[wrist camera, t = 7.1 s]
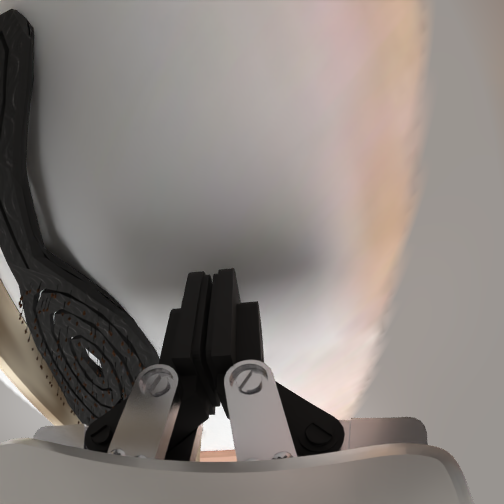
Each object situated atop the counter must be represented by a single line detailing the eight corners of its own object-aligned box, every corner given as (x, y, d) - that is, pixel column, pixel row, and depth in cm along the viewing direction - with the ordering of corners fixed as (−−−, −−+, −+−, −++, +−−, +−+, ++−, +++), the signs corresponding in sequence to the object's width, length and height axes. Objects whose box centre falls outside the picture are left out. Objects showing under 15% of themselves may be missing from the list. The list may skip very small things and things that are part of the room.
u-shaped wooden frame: (-73, 42, 5) (-113, 51, 2) (52, -59, 4) (9, -77, 2) (101, 429, 21) (94, 458, 18) (201, 436, 20) (199, 470, 18)
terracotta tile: (186, 446, 23) (185, 457, 22) (264, 441, 22) (265, 453, 21) (212, 469, 27) (211, 479, 26) (278, 464, 26) (278, 474, 25)
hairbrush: (62, -46, 4) (181, 466, 16) (110, -17, 7) (186, 422, 19) (-82, 55, 4) (72, 447, 16) (-30, 50, 7) (85, 409, 19)
